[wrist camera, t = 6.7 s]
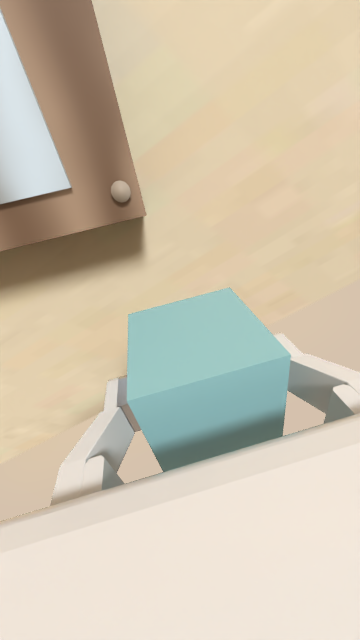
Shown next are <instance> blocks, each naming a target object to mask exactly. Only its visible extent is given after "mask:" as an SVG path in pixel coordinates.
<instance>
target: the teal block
mask: <svg viewBox="0 0 360 640" xmlns="http://www.w3.org/2000/svg"><path fill="white" fill-rule="evenodd" d="M290 360H291V354H290V353H289V352H288V351H287V350H286V349H285V348H284V346H283V345H282V344H281V343H280V342H279V341H278V340H277V339H276V338H275V337H274V336H273V334H271V332H270V331H269V330H268V329H267V328H266V327H265V326H264V325H263V324H262V322H261V321H260V320H259V319H258V318H257V317H256V316H255V315H254V314H253V313H252V311H251V310H250V309H249V308H248V307H247V306H246V305H245V304H244V303H243V302H242V301H241V299H240V298H239V297H238V296H237V295H236V294H235V293H234V292H233V291H232V290H231V288H226V289H222V290H219V291H215V292H211V293H207V294H203V295H200V296H196V297H192V298H188V299H185V300H181V301H177V302H173V303H169V304H166V305H162V306H158V307H154V308H151V309H147V310H143V311H139V312H135V313H132V314H128V362H127V403H128V405H129V407H130V409H131V410H132V412H133V414H134V416H135V418H136V420H137V422H138V424H139V426H140V428H141V430H142V431H143V433H144V435H145V437H146V439H147V441H148V443H149V445H150V447H151V449H152V451H153V453H154V455H155V457H156V459H157V460H158V462H159V464H160V466H161V468H162V470H163V472H166V471H169V470H172V469H176V468H179V467H182V466H186V465H189V464H192V463H196V462H199V461H202V460H206V459H209V458H212V457H216V456H219V455H222V454H225V453H229V452H232V451H235V450H239V449H242V448H245V447H249V446H252V445H255V444H259V443H262V442H265V441H269V440H272V439H275V438H279V437H282V435H283V426H284V416H285V407H286V397H287V388H288V379H289V369H290Z"/></svg>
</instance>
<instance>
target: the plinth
mask: <svg viewBox="0 0 360 640" xmlns="http://www.w3.org/2000/svg"><path fill="white" fill-rule="evenodd" d="M142 216H146V212H145V208H144V204H143V200H142V196H141V192H140V188H139V184H138V180H137V177H136V173H135V169H134V165H133V161H132V157H131V153H130V149H129V145H128V141H127V137H126V134H125V130H124V126H123V122H122V118H121V114H120V110H119V106H118V102H117V98H116V94H115V91H114V87H113V83H112V79H111V75H110V71H109V67H108V63H107V59H106V55H105V51H104V48H103V44H102V40H101V36H100V32H99V28H98V24H97V20H96V16H95V12H94V9H93V5H92V1H91V0H0V251H4V250H8V249H12V248H16V247H20V246H24V245H28V244H32V243H36V242H40V241H45V240H49V239H53V238H57V237H61V236H65V235H69V234H73V233H77V232H81V231H85V230H89V229H93V228H97V227H101V226H106V225H110V224H114V223H118V222H122V221H126V220H130V219H134V218H138V217H142Z"/></svg>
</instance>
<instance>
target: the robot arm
mask: <svg viewBox="0 0 360 640" xmlns="http://www.w3.org/2000/svg"><path fill="white" fill-rule="evenodd" d="M273 336H274V337H275V338H276V339H277V340H278V341H279V342H280V343H281V344H282V345H283V346H284V348H285V349H286V350H287V351H288V352H289V353H290V354H291V360H290V369H289V379H288V388H287V390H288V391H289V392H291V393H293V394H294V395H296V396H297V397H299V398H301V399H303V400H304V401H306V402H308V403H309V404H311V405H312V406H314V407H316V408H318V409H319V410H321V411H322V412H325V413H326V417H325V420H324V424H322V425H318V426H315V427H312V428H309V429H305V430H302V431H298V432H295V433H292V434H289V435H285V436H282V437H279V438H275V439H272V440H269V441H265V442H262V443H259V444H255V445H252V446H249V447H245V448H242V449H239V450H235V451H232V452H229V453H225V454H222V455H219V456H216V457H212V458H209V459H206V460H202V461H199V462H196V463H192V464H189V465H186V466H182V467H179V468H176V469H172V470H169V471H166V472H162V473H159V474H156V475H153V476H149V477H146V478H143V479H139V480H136V481H133V482H130V483H126V484H124V483H123V481H122V480H121V479H120V477H119V476H118V475H117V474H116V473H117V471H118V469H119V466H120V464H121V462H122V460H123V458H124V456H125V454H126V451H127V449H128V447H129V444H130V443H131V440H132V438H133V436H134V434H135V433H134V432H136V431H139V430H141V428H140V426H139V424H138V422H137V420H136V418H135V416H134V414H133V412H132V410H131V409H130V407H129V405H128V403H127V375H126V376H122V377H119V378H115V379H111V380H108V382H107V386H106V394H105V402H104V410H103V412H100V413H99V414H98V416H97V417H96V419H95V420H94V421H93V422H92V424H91V425H90V426H89V428H88V429H87V431H86V432H85V433H84V435H83V436H82V437H81V439H80V440H79V441H78V443H77V444H76V445H75V447H74V448H73V449H72V451H71V452H70V454H69V455H68V456H67V458H66V459H65V460H64V462H63V463H62V464H61V466H60V469H59V473H58V477H57V481H56V485H55V489H54V493H53V497H52V501H51V505H50V506H49V507H46V508H43V509H39V510H36V511H33V512H29V513H26V514H23V515H19V516H16V517H13V518H10V519H6V520H3V521H0V640H360V372H357V371H355V370H351V369H349V368H346V367H343V366H340V365H338V364H335V363H332V362H329V361H326V360H324V359H320V358H318V357H315V356H312V355H309V354H302V352H301V351H300V350H299V349H298V348H297V347H296V346H294V344H293V343H292V342H291V341H290V340H289V339H288V338H287V337H286V336H285V335H284V334H283V333H277V334H273Z"/></svg>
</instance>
